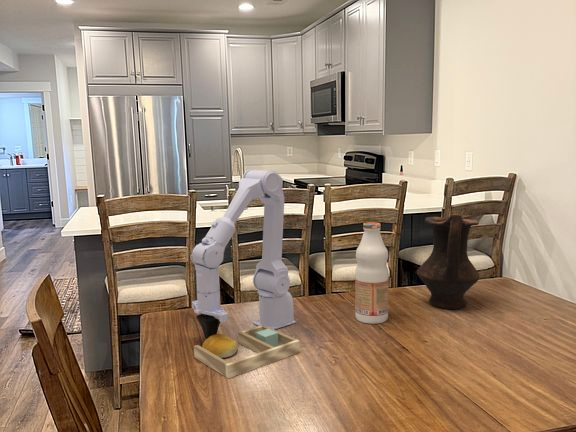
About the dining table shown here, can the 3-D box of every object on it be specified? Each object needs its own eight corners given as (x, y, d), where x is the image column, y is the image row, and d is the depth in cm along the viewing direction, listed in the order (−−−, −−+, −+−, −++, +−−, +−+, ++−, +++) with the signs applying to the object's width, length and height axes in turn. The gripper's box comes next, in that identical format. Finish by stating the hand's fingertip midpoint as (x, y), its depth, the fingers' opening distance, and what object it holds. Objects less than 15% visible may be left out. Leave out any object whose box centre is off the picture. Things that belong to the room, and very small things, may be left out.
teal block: (268, 343, 135) (268, 328, 135) (278, 347, 132) (277, 332, 131) (256, 347, 133) (255, 332, 132) (265, 352, 130) (265, 336, 129)
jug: (413, 294, 173) (415, 205, 169) (471, 295, 171) (474, 204, 166) (420, 316, 153) (422, 214, 148) (486, 317, 150) (490, 214, 145)
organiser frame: (263, 335, 140) (263, 324, 140) (299, 352, 129) (299, 340, 128) (194, 357, 127) (193, 345, 127) (228, 378, 116) (227, 365, 115)
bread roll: (214, 362, 124) (213, 346, 123) (198, 350, 131) (197, 335, 131) (244, 353, 129) (244, 338, 128) (227, 342, 136) (226, 327, 135)
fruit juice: (354, 323, 148) (354, 226, 143) (356, 312, 157) (356, 220, 153) (388, 325, 146) (389, 226, 142) (388, 314, 155) (388, 220, 151)
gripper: (180, 287, 135) (183, 337, 137) (209, 300, 124) (212, 354, 126) (204, 282, 140) (206, 330, 142) (234, 294, 129) (236, 346, 131)
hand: (210, 341), depth 134 cm, fingers closed
